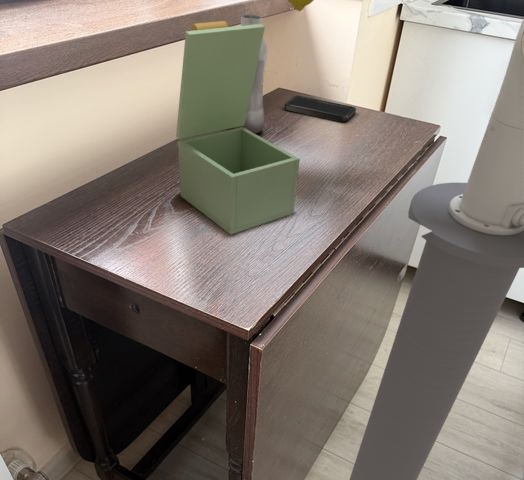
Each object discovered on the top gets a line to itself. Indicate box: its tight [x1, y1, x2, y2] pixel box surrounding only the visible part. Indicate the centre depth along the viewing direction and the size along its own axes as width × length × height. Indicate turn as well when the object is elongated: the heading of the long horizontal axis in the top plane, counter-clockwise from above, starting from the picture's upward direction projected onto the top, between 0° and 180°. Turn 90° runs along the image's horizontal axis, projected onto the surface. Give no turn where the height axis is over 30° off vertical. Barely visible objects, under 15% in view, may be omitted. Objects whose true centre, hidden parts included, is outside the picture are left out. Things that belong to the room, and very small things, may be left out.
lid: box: [175, 20, 266, 140], centre depth 73 cm, size 15×12×5 cm
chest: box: [177, 127, 300, 235], centre depth 78 cm, size 14×12×9 cm
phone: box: [284, 95, 357, 123], centre depth 115 cm, size 8×1×15 cm
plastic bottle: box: [233, 14, 268, 135], centre depth 97 cm, size 6×7×20 cm
